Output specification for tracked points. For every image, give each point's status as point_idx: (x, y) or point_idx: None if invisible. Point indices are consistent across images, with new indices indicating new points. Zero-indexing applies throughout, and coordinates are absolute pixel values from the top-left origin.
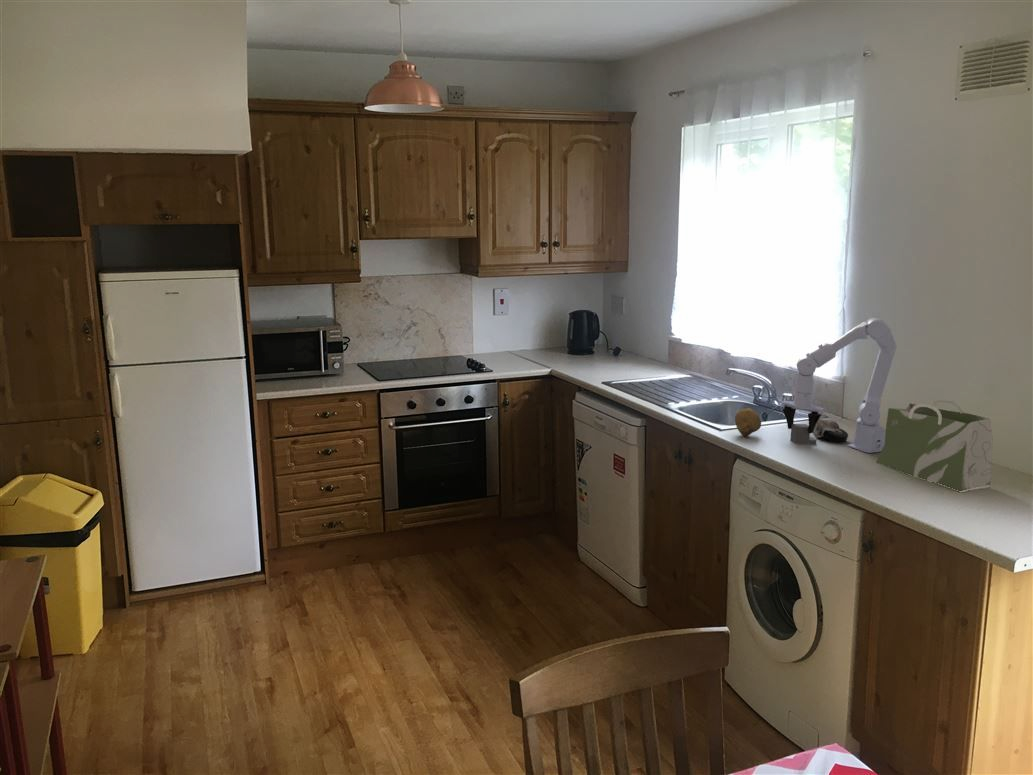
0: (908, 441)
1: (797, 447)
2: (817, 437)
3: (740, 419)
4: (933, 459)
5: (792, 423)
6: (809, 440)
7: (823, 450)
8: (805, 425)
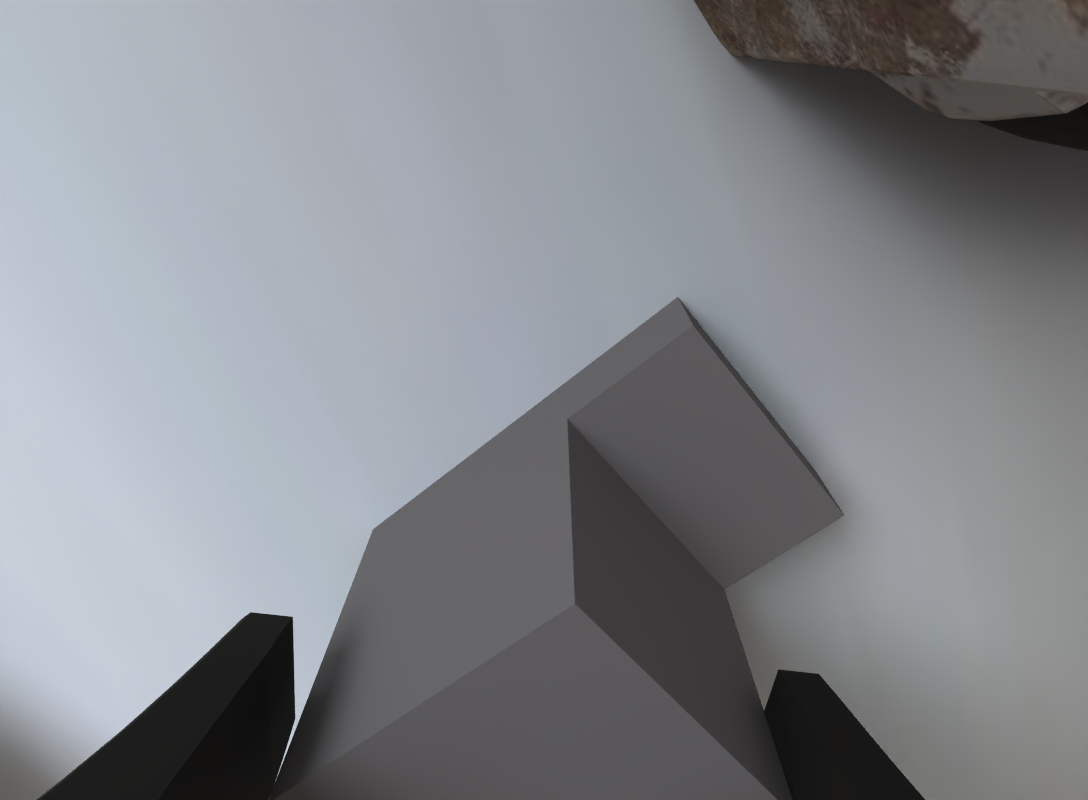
0: None
1: None
2: (741, 46)
3: None
4: None
5: (239, 730)
6: (725, 581)
7: (987, 701)
8: (623, 742)
